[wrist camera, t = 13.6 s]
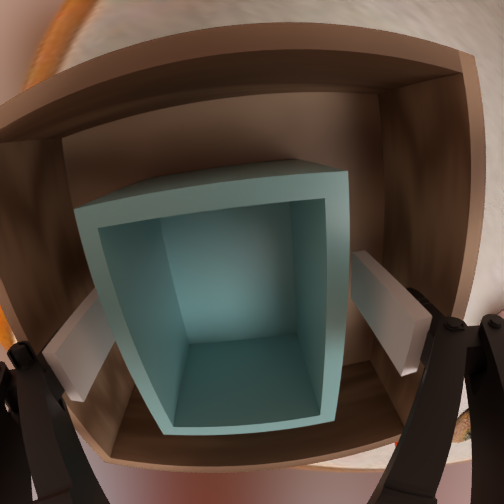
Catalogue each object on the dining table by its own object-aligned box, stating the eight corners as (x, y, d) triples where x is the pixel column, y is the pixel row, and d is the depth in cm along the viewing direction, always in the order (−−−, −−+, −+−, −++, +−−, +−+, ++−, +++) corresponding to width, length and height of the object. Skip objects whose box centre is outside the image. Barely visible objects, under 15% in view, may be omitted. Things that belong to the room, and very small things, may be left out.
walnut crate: (57, 128, 15) (-39, 133, 7) (382, 83, 15) (474, 56, 7) (131, 383, 23) (104, 462, 14) (374, 358, 23) (415, 434, 14)
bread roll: (503, 393, 30) (513, 413, 26) (462, 429, 35) (469, 449, 30) (478, 391, 29) (490, 415, 24) (430, 432, 33) (438, 455, 29)
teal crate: (143, 179, 16) (73, 209, 8) (297, 158, 16) (347, 171, 8) (183, 346, 20) (163, 434, 13) (306, 333, 20) (334, 420, 13)
